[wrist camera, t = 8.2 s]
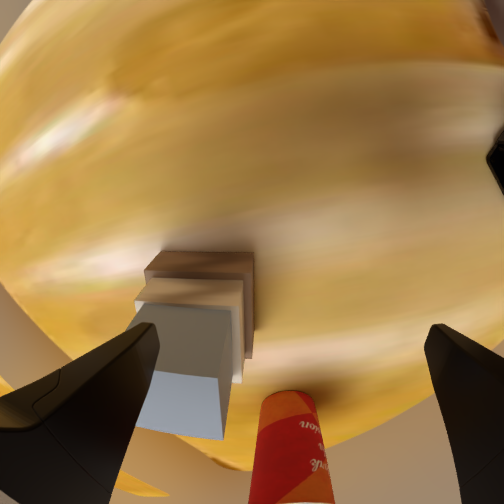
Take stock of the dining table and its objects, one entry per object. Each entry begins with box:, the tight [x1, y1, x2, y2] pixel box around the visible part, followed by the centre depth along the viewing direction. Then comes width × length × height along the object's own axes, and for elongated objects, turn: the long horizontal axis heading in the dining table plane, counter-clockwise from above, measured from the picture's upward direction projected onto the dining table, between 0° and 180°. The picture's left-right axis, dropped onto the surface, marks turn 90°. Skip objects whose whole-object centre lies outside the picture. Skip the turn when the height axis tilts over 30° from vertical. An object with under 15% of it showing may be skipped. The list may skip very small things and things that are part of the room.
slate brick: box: [125, 304, 233, 440], centre depth 14 cm, size 5×5×5 cm
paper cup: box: [248, 391, 335, 504], centre depth 20 cm, size 8×8×14 cm
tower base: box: [134, 251, 254, 383], centre depth 19 cm, size 7×7×6 cm
